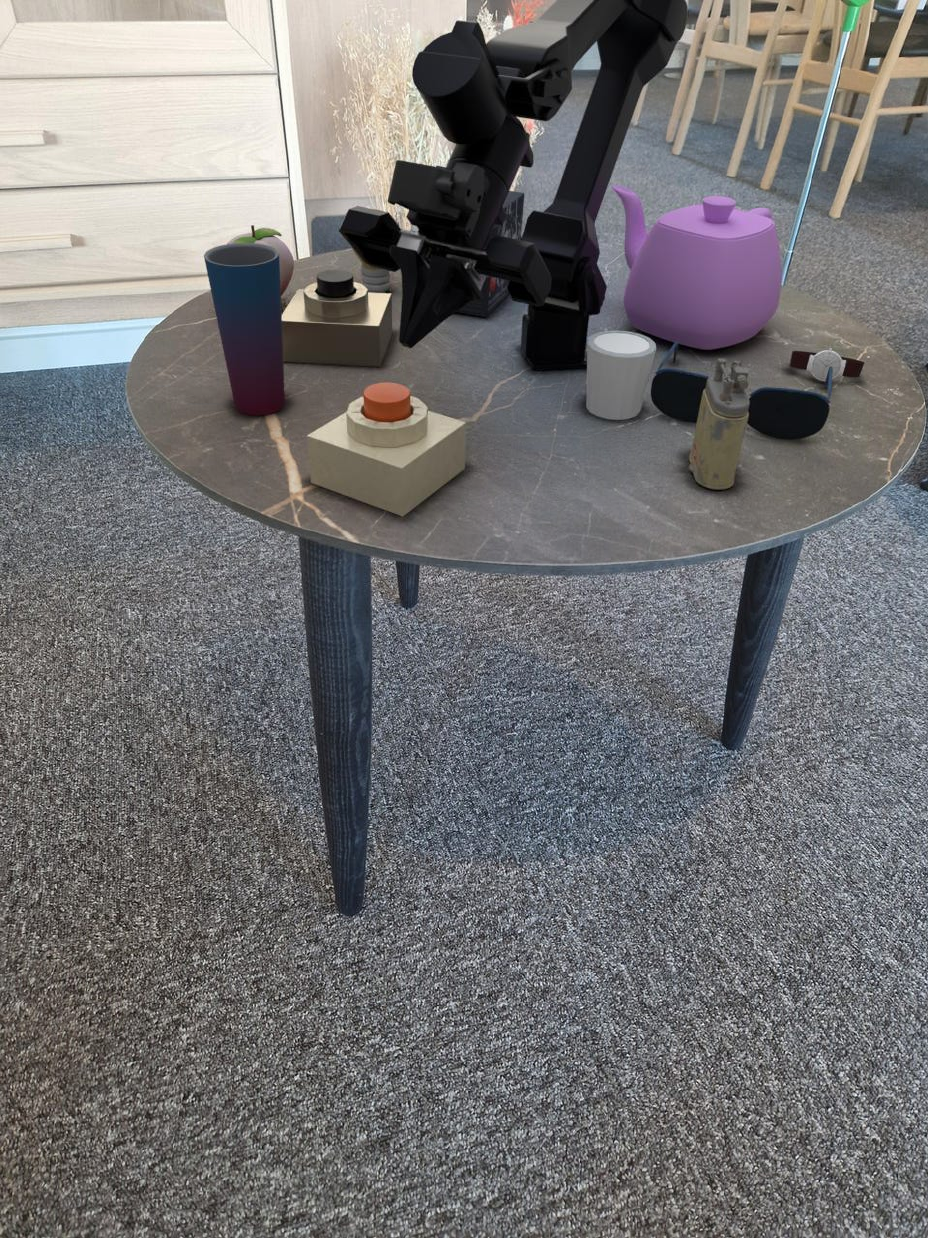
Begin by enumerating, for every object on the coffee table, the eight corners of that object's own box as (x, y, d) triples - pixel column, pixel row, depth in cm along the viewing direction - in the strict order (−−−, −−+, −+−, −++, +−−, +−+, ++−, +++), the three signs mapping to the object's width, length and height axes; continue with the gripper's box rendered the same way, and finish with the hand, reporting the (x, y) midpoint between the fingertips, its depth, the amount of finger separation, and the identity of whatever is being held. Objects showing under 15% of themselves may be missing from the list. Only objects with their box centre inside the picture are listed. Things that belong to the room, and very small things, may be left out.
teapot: (805, 322, 117) (839, 193, 107) (717, 369, 104) (746, 230, 95) (654, 276, 129) (672, 158, 119) (559, 315, 116) (570, 186, 107)
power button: (382, 399, 83) (381, 378, 81) (419, 411, 81) (419, 389, 80) (354, 416, 80) (353, 394, 79) (392, 429, 78) (392, 406, 77)
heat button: (356, 288, 105) (356, 270, 103) (350, 301, 102) (349, 282, 100) (321, 286, 105) (320, 268, 104) (314, 299, 102) (313, 280, 100)
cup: (279, 423, 92) (263, 268, 82) (215, 415, 93) (191, 261, 83) (302, 394, 97) (289, 245, 88) (241, 387, 98) (221, 239, 89)
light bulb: (342, 294, 120) (338, 212, 114) (365, 279, 125) (362, 200, 119) (387, 302, 118) (385, 219, 112) (408, 286, 123) (407, 206, 117)
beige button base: (392, 332, 111) (391, 277, 107) (380, 367, 103) (378, 309, 99) (301, 327, 111) (296, 272, 107) (282, 361, 103) (276, 303, 99)
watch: (785, 377, 103) (793, 346, 101) (789, 361, 107) (797, 330, 105) (858, 389, 101) (868, 357, 99) (859, 372, 105) (869, 341, 103)
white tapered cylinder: (604, 427, 93) (613, 360, 88) (567, 400, 98) (573, 335, 93) (659, 414, 95) (671, 349, 91) (621, 388, 100) (630, 324, 96)
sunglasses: (645, 414, 95) (654, 366, 93) (668, 377, 107) (676, 333, 105) (819, 446, 91) (833, 396, 88) (823, 403, 103) (836, 358, 100)
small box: (487, 319, 115) (491, 217, 107) (435, 310, 117) (436, 209, 109) (519, 285, 125) (525, 190, 117) (471, 278, 126) (474, 183, 119)
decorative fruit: (249, 292, 120) (239, 210, 114) (306, 301, 118) (299, 218, 112) (210, 316, 113) (197, 231, 107) (270, 326, 111) (261, 240, 105)
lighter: (736, 492, 84) (761, 388, 77) (693, 490, 84) (715, 386, 77) (722, 453, 89) (744, 353, 83) (683, 451, 89) (702, 351, 83)
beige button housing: (377, 439, 90) (374, 375, 86) (465, 468, 86) (466, 403, 82) (310, 482, 83) (304, 416, 79) (402, 517, 79) (401, 448, 75)
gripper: (346, 100, 76) (269, 273, 76) (547, 132, 69) (464, 323, 68) (402, 185, 86) (335, 337, 86) (583, 220, 79) (511, 387, 78)
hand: (404, 345), depth 79 cm, fingers closed
